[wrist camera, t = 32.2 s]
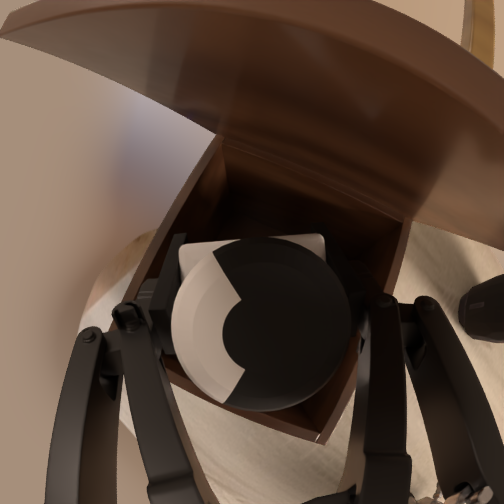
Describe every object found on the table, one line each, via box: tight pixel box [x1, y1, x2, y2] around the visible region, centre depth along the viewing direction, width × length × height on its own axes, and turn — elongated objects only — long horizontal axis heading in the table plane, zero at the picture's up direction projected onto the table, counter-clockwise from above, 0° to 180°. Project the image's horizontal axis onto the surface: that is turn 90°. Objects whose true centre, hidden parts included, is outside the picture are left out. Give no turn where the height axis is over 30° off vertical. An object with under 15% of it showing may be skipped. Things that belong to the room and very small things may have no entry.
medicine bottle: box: [171, 233, 351, 412], centre depth 14 cm, size 7×7×12 cm
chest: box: [108, 135, 412, 445], centre depth 25 cm, size 18×17×14 cm
